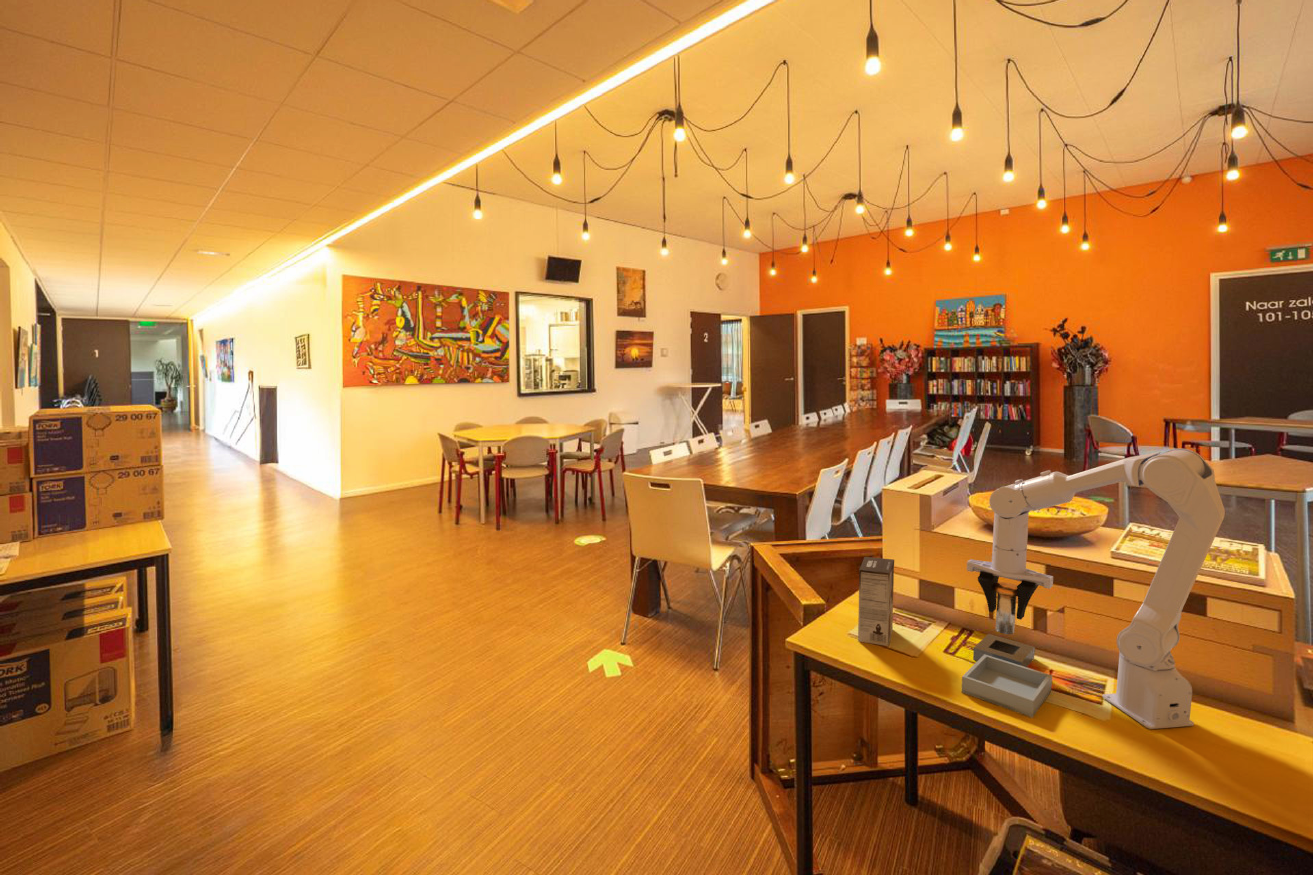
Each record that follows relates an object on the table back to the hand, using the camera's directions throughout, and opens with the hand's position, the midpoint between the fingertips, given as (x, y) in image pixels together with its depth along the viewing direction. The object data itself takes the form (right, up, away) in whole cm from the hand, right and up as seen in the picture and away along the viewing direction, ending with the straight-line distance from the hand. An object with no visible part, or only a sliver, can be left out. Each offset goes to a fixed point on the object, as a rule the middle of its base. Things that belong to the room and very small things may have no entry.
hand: (1006, 613), depth 119 cm
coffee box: (-21, -9, +13) cm, 26 cm away
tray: (-6, -11, -10) cm, 16 cm away
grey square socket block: (0, -9, +1) cm, 9 cm away
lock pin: (0, -3, 0) cm, 4 cm away
